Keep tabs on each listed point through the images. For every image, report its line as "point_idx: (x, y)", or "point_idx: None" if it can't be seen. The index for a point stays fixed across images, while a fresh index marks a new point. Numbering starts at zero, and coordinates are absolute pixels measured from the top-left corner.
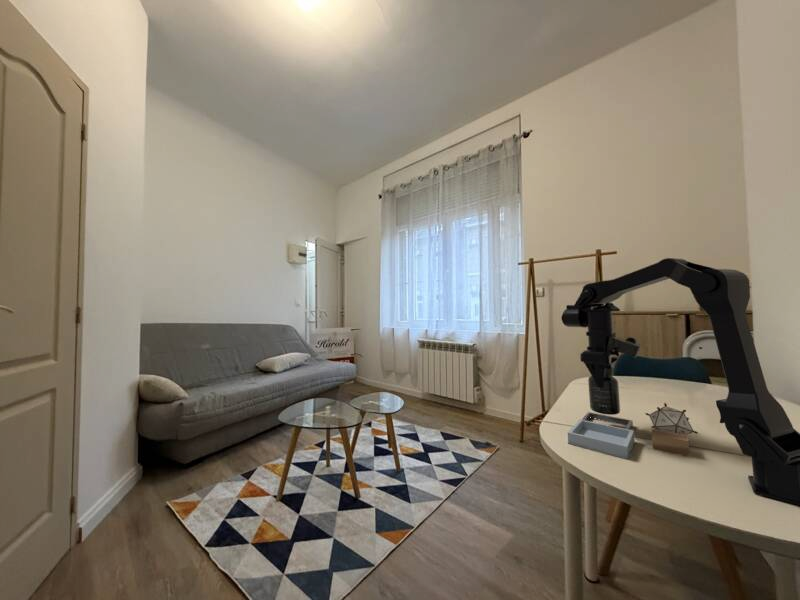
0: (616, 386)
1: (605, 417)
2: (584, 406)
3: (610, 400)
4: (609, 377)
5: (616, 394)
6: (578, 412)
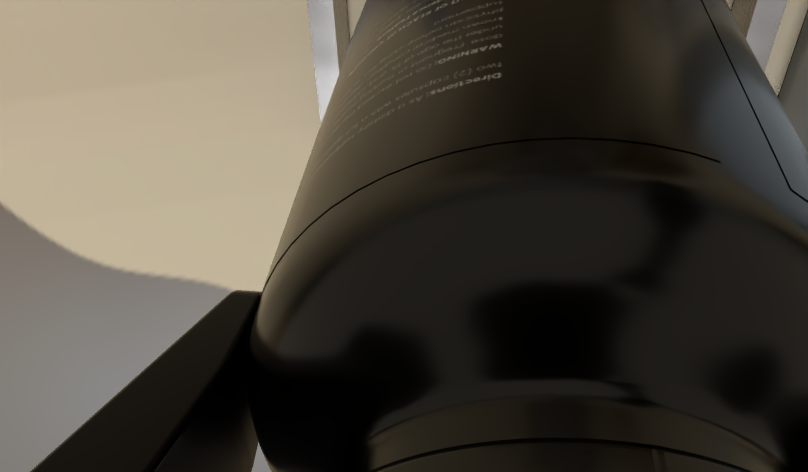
0: (719, 131)
1: (339, 22)
2: (39, 216)
3: (764, 73)
4: (748, 434)
5: (700, 37)
6: (262, 229)
